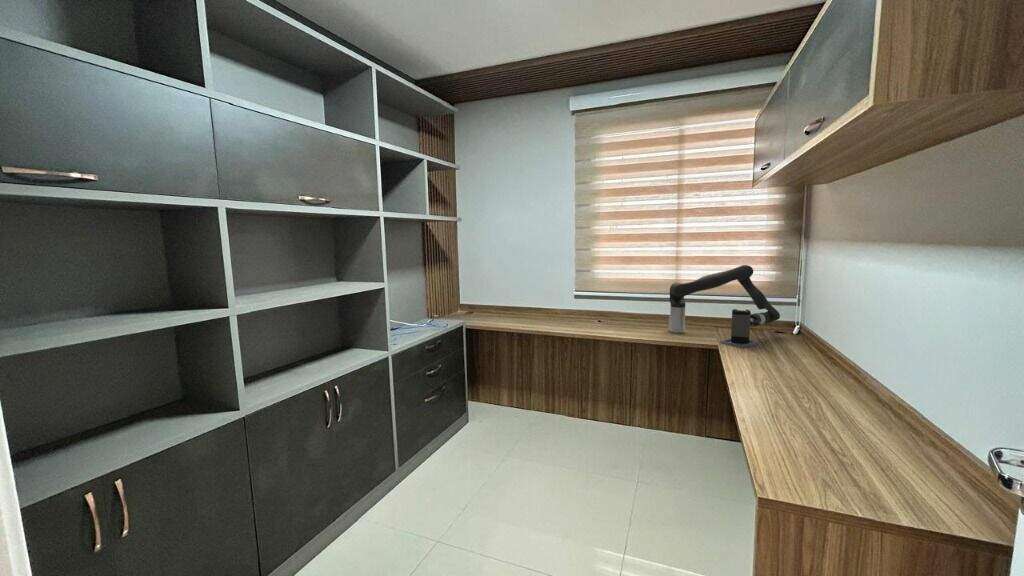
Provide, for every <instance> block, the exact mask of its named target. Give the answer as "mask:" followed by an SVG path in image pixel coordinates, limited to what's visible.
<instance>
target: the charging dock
mask: <svg viewBox="0 0 1024 576" xmlns="http://www.w3.org/2000/svg"><path fill="white" fill-rule="evenodd" d="M719 343H720V344H721V343H722V344H721V345H726V346H731V347H735V348H739V349H740V348H741V349H743V348H747V347H751V346H755V345H758V344H759V342H758V341H757V340H752V339H749V343H747V344H743V345H739V344H735V343H731V337H730V338H726V339H722V340H720V342H719Z"/></svg>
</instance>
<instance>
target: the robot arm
mask: <svg viewBox="0 0 1024 576" xmlns="http://www.w3.org/2000/svg"><path fill="white" fill-rule="evenodd" d="M753 274H754V269H753V267H752V266H750V265H747V264H743V265H740V266H736V267H734V268H731V269H728V270H725V271H720V272H715V273H711V274H707V275H704V276H702V277H699V278H697V279H695V280H694V281H690V282H684V283H680V282H673V283H672V284H671V285H670V288H669V303H670V308H669V309H670V311H669V313H670V316H669V317H668V332H671V333H674V334H675V333H676V334H683V333H685V330H686V329H685V328H686V324H685V323H686V302H685V297H687V296H689V295H691V294H694V293H698V292H703V291H707V290H712V289H715V288H719V287H722V286H724V285H726V284H728V283H730V282H733V281H738V283H739V284H740V285H741V286H742V287H743V289H744V290H745V291H746V293H747V294H748V295H749V297H750V299H751V300H752V302H753V303H754V305H755V306H756V308H757V309H758V310H760V311H761V310H766V311H764V312H755V313H751V316H750V328H751V327H752V328H753V327H758V326H761V325H767V324H771V323H773V322H776V321H778V320H779V319H780V318H781V314H780V312H779V311H778V310H777V309H776V308H775V307H774V306H773V305H772V304H770V302H769V300H768V299H767V298H766V296H765V295H764V293H763V292H762V291H761V290H760V289H758V287H757V286H756V285H755V284H754V283H753V282H752V280H751V277H752V276H753Z"/></svg>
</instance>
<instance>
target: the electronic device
mask: <svg viewBox="0 0 1024 576" xmlns="http://www.w3.org/2000/svg"><path fill="white" fill-rule="evenodd" d="M751 314H752V313H751V310H750V309H745V310H737V309H736V308H733V309H732V310H731V326H730V327H731V328H730V329H731V330H730V331H731V332H730V338H731V343H735V344H739V345H743V344H747V343H749V340H750V335H751V334H750V333H751V332H750V330H751V326H750V316H751Z"/></svg>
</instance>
